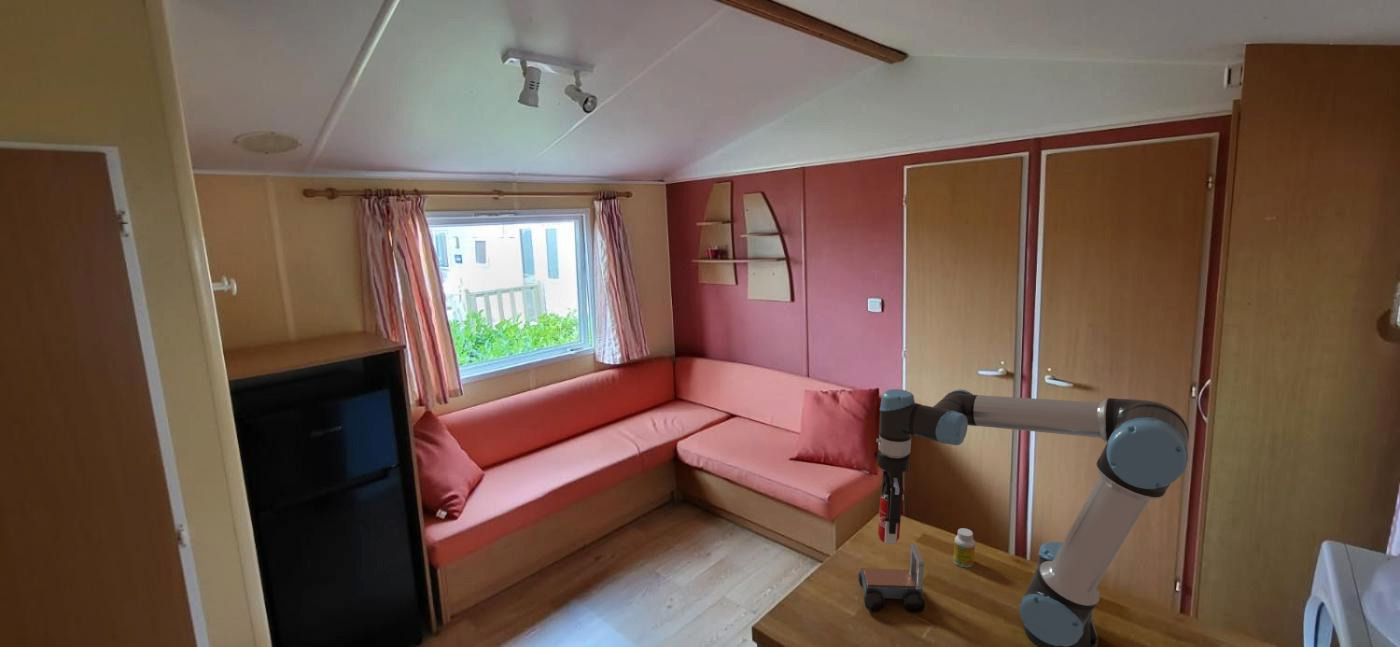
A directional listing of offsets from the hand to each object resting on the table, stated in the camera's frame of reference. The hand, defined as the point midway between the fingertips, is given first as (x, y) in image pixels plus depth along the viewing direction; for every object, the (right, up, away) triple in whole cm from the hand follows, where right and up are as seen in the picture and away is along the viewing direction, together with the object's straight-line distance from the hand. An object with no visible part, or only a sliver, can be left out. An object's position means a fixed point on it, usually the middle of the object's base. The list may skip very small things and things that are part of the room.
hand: (888, 536), depth 154 cm
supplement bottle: (+28, -15, +20) cm, 38 cm away
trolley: (+2, -19, +6) cm, 20 cm away
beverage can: (0, -1, 0) cm, 1 cm away
